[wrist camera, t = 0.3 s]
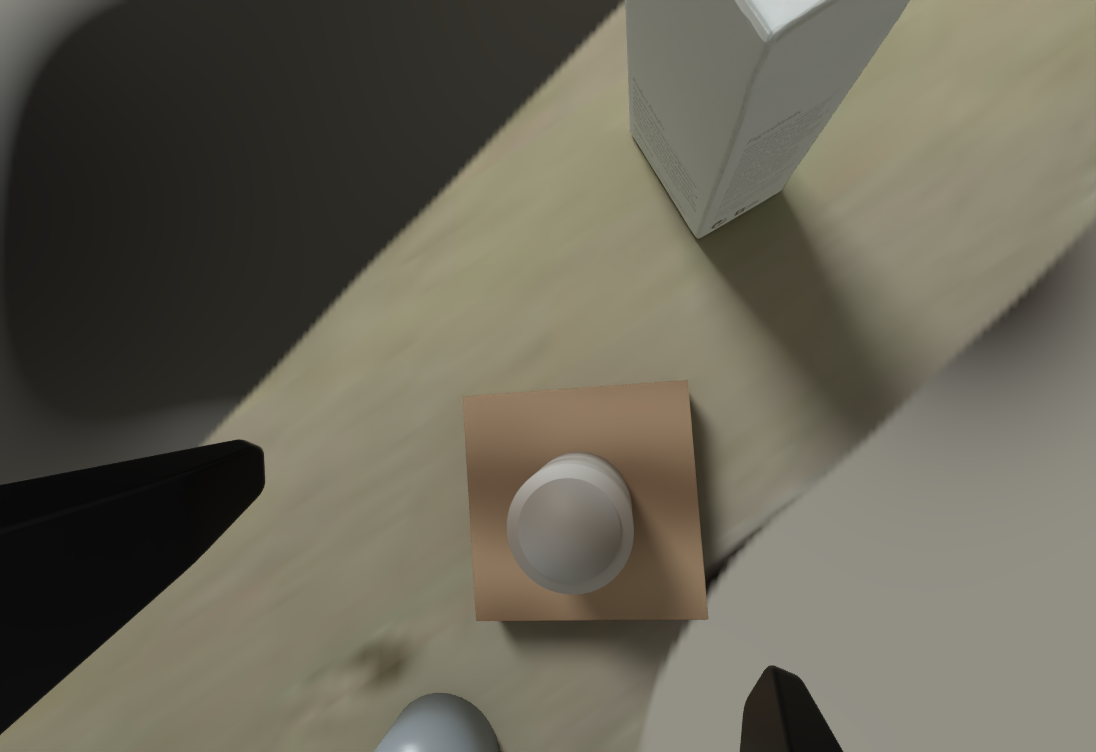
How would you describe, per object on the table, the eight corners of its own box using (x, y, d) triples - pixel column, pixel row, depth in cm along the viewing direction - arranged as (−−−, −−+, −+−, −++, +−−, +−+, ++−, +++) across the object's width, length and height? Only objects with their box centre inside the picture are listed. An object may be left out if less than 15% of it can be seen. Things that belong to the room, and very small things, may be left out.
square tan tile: (699, 598, 21) (732, 681, 14) (489, 600, 22) (438, 678, 16) (681, 381, 21) (705, 374, 15) (476, 396, 22) (422, 396, 16)
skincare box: (785, 190, 21) (1006, -92, 9) (690, 246, 21) (778, 51, 9) (708, 73, 22) (816, -336, 10) (617, 130, 22) (612, -191, 10)
